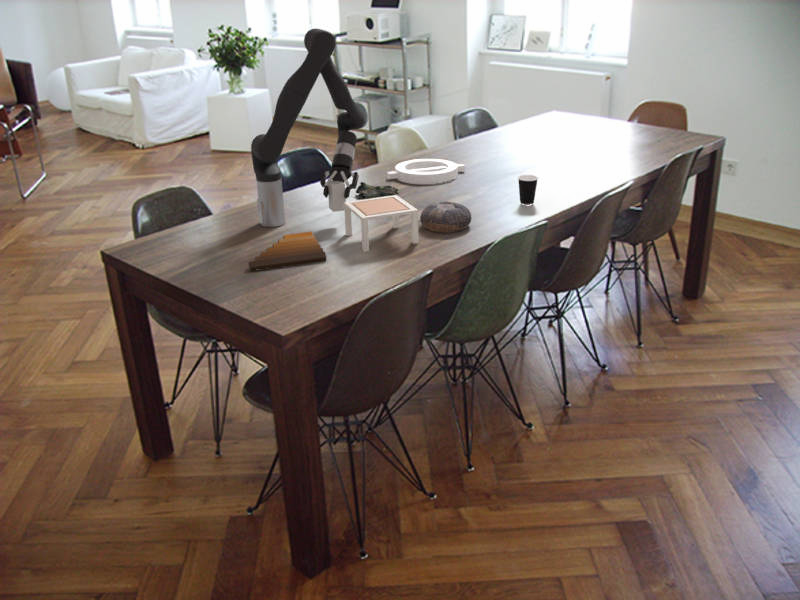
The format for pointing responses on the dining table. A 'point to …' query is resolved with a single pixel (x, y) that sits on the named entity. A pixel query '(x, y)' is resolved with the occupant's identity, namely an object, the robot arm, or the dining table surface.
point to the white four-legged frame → (395, 217)
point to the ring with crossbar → (426, 171)
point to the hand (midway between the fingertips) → (335, 197)
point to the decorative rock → (375, 190)
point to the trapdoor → (379, 206)
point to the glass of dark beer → (527, 188)
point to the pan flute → (290, 252)
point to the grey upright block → (336, 195)
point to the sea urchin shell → (445, 217)
